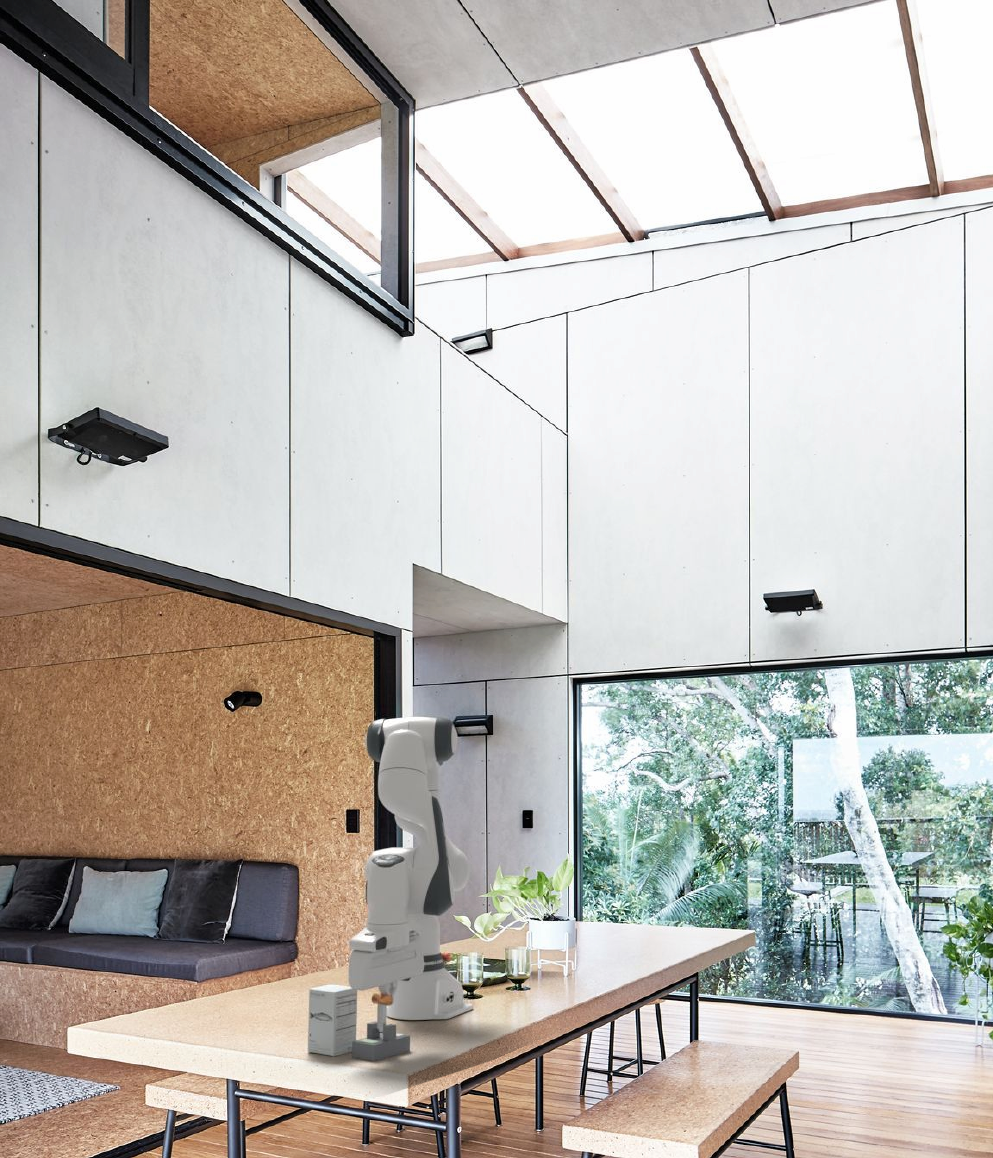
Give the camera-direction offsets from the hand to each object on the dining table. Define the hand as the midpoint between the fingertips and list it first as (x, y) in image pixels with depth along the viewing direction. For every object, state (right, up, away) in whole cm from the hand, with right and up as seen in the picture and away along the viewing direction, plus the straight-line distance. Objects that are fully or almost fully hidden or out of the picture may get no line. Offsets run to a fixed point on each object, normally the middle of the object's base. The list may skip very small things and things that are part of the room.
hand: (387, 1004), depth 236 cm
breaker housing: (-1, -9, -3) cm, 9 cm away
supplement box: (-12, -10, 0) cm, 15 cm away
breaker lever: (-1, -4, -2) cm, 5 cm away
